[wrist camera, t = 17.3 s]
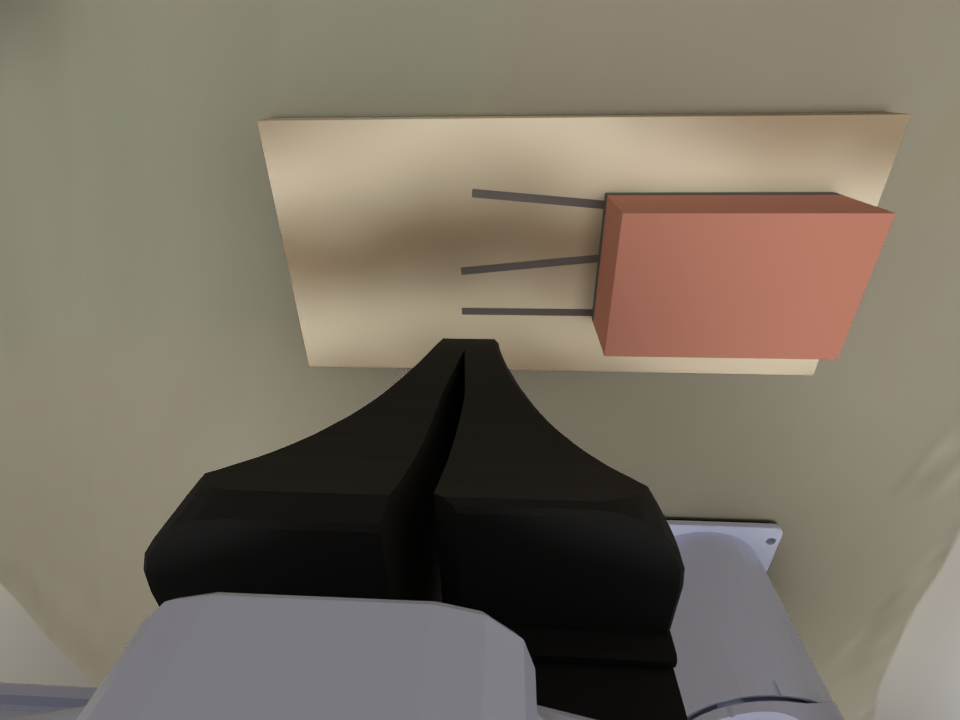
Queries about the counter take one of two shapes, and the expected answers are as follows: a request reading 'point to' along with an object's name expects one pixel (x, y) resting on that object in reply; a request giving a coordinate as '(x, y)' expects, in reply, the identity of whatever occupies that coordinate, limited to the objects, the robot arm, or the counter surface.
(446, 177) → the plank
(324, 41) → the counter surface
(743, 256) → the block
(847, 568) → the counter surface
